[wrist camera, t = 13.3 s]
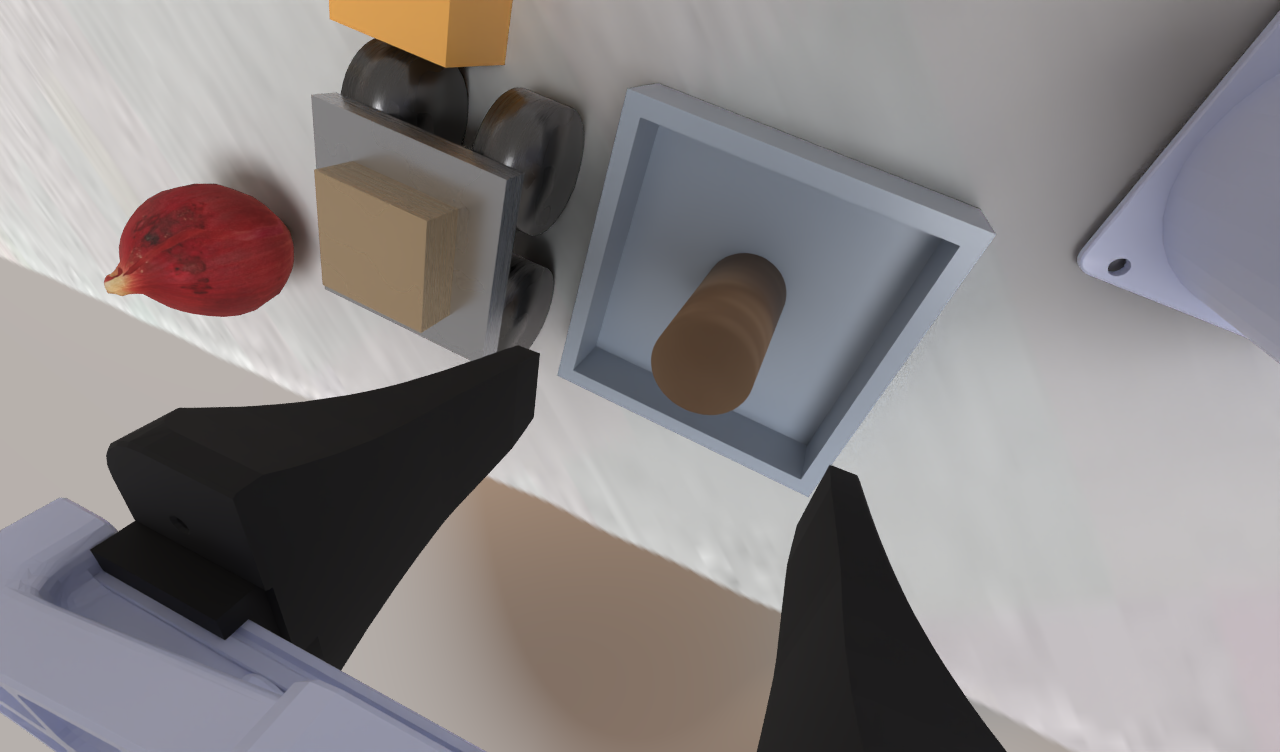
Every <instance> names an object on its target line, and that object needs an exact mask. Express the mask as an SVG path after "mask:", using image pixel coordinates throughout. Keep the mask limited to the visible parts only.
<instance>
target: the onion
mask: <svg viewBox="0 0 1280 752" xmlns="http://www.w3.org/2000/svg"><path fill="white" fill-rule="evenodd" d="M119 257H120V263H119V264H118V266H117V267H116V269H115V271H114V272H113V273H111V274H109V275H107V276H106V278H105V280H104V285H105V288H106V290H107V292H108V293H112V294H117V295H120V296H124V295H128V294H144V295H146V296H148V297H150V298H152V299H154V300H156V301H158V302H160V303H162V304H164V305H166V306H168V307H170V308H173V309H177V310H180V311H183V312H188V313H192V314H199V315H206V316H220V317H227V316H236V315H242V314H245V313H248V312H251V311H254V310H256V309H258V308H259V307H261V306H262V305H263V304H265V303H266V302H268V301H269V300H270V299H272V298H273V297H275V296H276V295H278V294H279V293H280V292H281V290H282V289H283V287H284V285H285V284H286V282H287V280H288V278H289V276H290V273H291V271H292V267H293V262H294V247H293V241H292V238H291V233H290V231H289V229H288V228H287V227H286V225H285V224H284V223H283V222H282V221H281V220H280V219H279V218H278V217H277V216H276V215H275V214H274V213H273V212H272V211H271V210H270V209H269V208H268V207H267V206H265V205H264V204H263V203H261V202H260V201H258V200H257V199H255V198H254V197H252V196H250V195H247V194H244V193H242V192H239V191H237V190H234V189H231V188H227V187H224V186H221V185H218V184H191V185H186V186H182V187H177V188H173V189H169V190H165V191H162V192H160V193H158V194H156V195H154V196H152V197H151V198H149V199H147V200H146V201H145V202H144V203H143V204H142V205H141V206H140V207H138V208H137V210H136V211H135V212H134V214H133V215H132V216H131V218H130V219H129V221H128V222H127V224H126V226H125V228H124V230H123V233H122V235H121V239H120V245H119Z"/></svg>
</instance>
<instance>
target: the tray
mask: <svg viewBox="0 0 1280 752" xmlns="http://www.w3.org/2000/svg"><path fill="white" fill-rule="evenodd" d="M995 236H996V233H995V232H994V230H993V229H992V227H991V225H990V224H989V222H988V220H987V219H986V217H985V216H984V214H983V212H982V211H981V209H979V208H976V207H974V206H971V205H968V204H966V203H963V202H961V201H958V200H956V199H953V198H951V197H948V196H946V195H943V194H940V193H938V192H935V191H933V190H930V189H928V188H925V187H923V186H920V185H917V184H915V183H912V182H910V181H907V180H905V179H902V178H900V177H897V176H894V175H892V174H889V173H887V172H884V171H882V170H879V169H877V168H874V167H871V166H869V165H866V164H864V163H861V162H859V161H856V160H854V159H851V158H848V157H846V156H843V155H841V154H838V153H836V152H833V151H831V150H828V149H825V148H823V147H820V146H818V145H815V144H813V143H810V142H808V141H805V140H802V139H800V138H797V137H795V136H792V135H790V134H787V133H785V132H782V131H779V130H777V129H774V128H772V127H769V126H767V125H764V124H762V123H759V122H756V121H754V120H751V119H749V118H746V117H744V116H741V115H739V114H736V113H733V112H731V111H728V110H726V109H723V108H721V107H718V106H716V105H713V104H710V103H708V102H705V101H703V100H700V99H698V98H695V97H693V96H690V95H687V94H685V93H682V92H680V91H677V90H675V89H672V88H670V87H667V86H664V85H662V84H659V83H656V84H650V85H644V86H639V87H633V88H627V92H626V96H625V100H624V105H623V109H622V113H621V117H620V121H619V125H618V129H617V133H616V137H615V141H614V146H613V150H612V154H611V158H610V162H609V166H608V170H607V174H606V178H605V182H604V187H603V191H602V195H601V199H600V203H599V207H598V211H597V215H596V219H595V223H594V228H593V232H592V236H591V240H590V244H589V248H588V252H587V256H586V260H585V264H584V268H583V273H582V277H581V281H580V285H579V289H578V293H577V297H576V301H575V305H574V309H573V314H572V318H571V322H570V326H569V330H568V334H567V338H566V342H565V346H564V350H563V355H562V359H561V363H560V367H559V371H558V375H557V376H560V377H562V378H564V379H566V380H568V381H570V382H572V383H574V384H576V385H578V386H580V387H582V388H584V389H586V390H588V391H590V392H593V393H595V394H597V395H599V396H601V397H603V398H605V399H607V400H609V401H611V402H613V403H615V404H617V405H619V406H621V407H624V408H626V409H628V410H630V411H632V412H634V413H636V414H638V415H640V416H642V417H644V418H646V419H648V420H650V421H652V422H654V423H657V424H659V425H661V426H663V427H665V428H667V429H669V430H671V431H673V432H675V433H677V434H679V435H681V436H683V437H685V438H687V439H690V440H692V441H694V442H696V443H698V444H700V445H702V446H704V447H706V448H708V449H710V450H712V451H714V452H716V453H718V454H721V455H723V456H725V457H727V458H729V459H731V460H733V461H735V462H737V463H739V464H741V465H743V466H745V467H747V468H749V469H751V470H754V471H756V472H758V473H760V474H762V475H764V476H766V477H768V478H770V479H772V480H774V481H776V482H778V483H780V484H782V485H785V486H787V487H789V488H791V489H793V490H795V491H797V492H799V493H801V494H803V495H805V496H807V497H809V496H810V494H811V493H812V491H813V490H814V489H815V487H816V486H817V484H818V483H819V482H820V480H821V479H822V477H823V476H824V474H825V472H826V470H827V468H828V466H829V465H832V463H833V462H834V461H835V459H836V458H837V456H838V455H839V454H840V452H841V451H842V449H843V448H844V447H845V445H846V444H847V443H848V441H849V440H850V438H851V437H852V436H853V434H854V433H855V431H856V430H857V429H858V427H859V426H860V424H861V423H862V422H863V420H864V419H865V417H866V416H867V415H868V413H869V412H870V410H871V409H872V408H873V406H874V405H875V403H876V402H877V401H878V399H879V398H880V396H881V395H882V394H883V392H884V391H885V389H886V388H887V387H888V385H889V384H890V382H891V381H892V380H893V378H894V377H895V375H896V374H897V373H898V371H899V370H900V368H901V367H902V366H903V364H904V363H905V361H906V360H907V359H908V357H909V356H910V354H911V353H912V352H913V350H914V349H915V347H916V346H917V345H918V343H919V342H920V340H921V339H922V338H923V336H924V335H925V333H926V332H927V331H928V329H929V328H930V326H931V325H932V324H933V322H934V321H935V319H936V318H937V317H938V315H939V314H940V312H941V311H942V310H943V308H944V307H945V305H946V304H947V303H948V301H949V300H950V299H951V297H952V296H953V294H954V293H955V292H956V290H957V289H958V287H959V286H960V285H961V283H962V282H963V280H964V279H965V278H966V276H967V275H968V273H969V272H970V271H971V269H972V268H973V266H974V265H975V264H976V262H977V261H978V259H979V258H980V257H981V255H982V254H983V252H984V251H985V250H986V248H987V247H988V245H989V244H990V243H991V241H992V240H993V238H994V237H995ZM738 253H750V254H755V255H758V256H761V257H763V258H765V259H767V260H768V261H770V262H771V263H772V264H773V265H774V266H775V267H776V268H777V269H778V270H779V272H780V273H781V275H782V277H783V279H784V282H785V285H786V301H785V305H784V308H783V310H782V313H781V315H780V318H779V321H778V323H777V326H776V328H775V331H774V334H773V336H772V339H771V341H770V344H769V347H768V349H767V352H766V354H765V357H764V359H763V362H762V365H761V367H760V370H759V372H758V375H757V378H756V380H755V383H754V385H753V388H752V390H751V393H750V394H749V396H748V397H747V399H746V400H745V401H744V402H743V403H742V404H741V405H740V406H739V407H737V408H735V409H734V410H732V411H729V412H727V413H723V414H718V415H702V414H697V413H693V412H690V411H687V410H685V409H683V408H681V407H679V406H678V405H676V404H675V403H673V402H672V401H671V400H670V399H669V398H667V397H666V395H665V394H664V393H663V392H662V391H661V389H660V388H659V386H658V385H657V383H656V381H655V378H654V376H653V373H652V368H651V355H652V350H653V347H654V345H655V343H656V341H657V340H658V338H659V337H660V335H661V334H662V333H663V332H664V330H665V329H666V328H667V326H668V325H669V324H670V322H671V321H672V320H673V319H674V317H675V316H676V315H677V313H678V312H679V311H680V310H681V308H682V307H683V306H684V304H685V303H686V302H687V300H688V299H689V298H690V297H691V295H692V294H693V293H694V291H695V290H696V289H697V288H698V286H699V285H700V284H701V282H702V281H703V280H704V278H705V277H706V276H707V275H708V273H709V272H710V271H711V269H712V268H713V267H714V266H715V265H716V264H717V263H718V262H719V261H720V260H722V259H724V258H725V257H728V256H730V255H733V254H738Z"/></svg>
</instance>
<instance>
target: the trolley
mask: <svg viewBox="0 0 1280 752" xmlns="http://www.w3.org/2000/svg"><path fill="white" fill-rule="evenodd" d="M311 98H312V112H313V126H314V140H315V154H316V168H317V169H315V170H314V173H315V186H316V200H317V214H318V227H319V241H320V254H321V268H322V281H323V285H324V286H325V289H326V290H328V291H330V292H332V293H334V294H336V295H338V296H341V297H343V298H345V299H347V300H349V301H351V302H353V303H355V304H357V305H359V306H361V307H363V308H365V309H367V310H369V311H371V312H373V313H375V314H377V315H379V316H381V317H383V318H385V319H387V320H389V321H391V322H393V323H395V324H397V325H399V326H401V327H403V328H406V329H408V330H410V331H412V332H414V333H416V334H418V335H420V336H422V337H424V338H426V339H428V340H430V341H432V342H434V343H436V344H438V345H440V346H442V347H444V348H446V349H448V350H450V351H452V352H454V353H456V354H458V355H460V356H462V357H464V358H466V359H468V360H471V361H473V360H476V359H479V358H482V357H484V356H487V355H490V354H493V353H496V352H498V351H501V350H504V349H507V348H510V347H514V346H517V345H519V346H521V347H524V348H527V349H529V348H530V347H531V345H532V344H533V342H534V341H535V339H536V337H537V336H538V334H539V332H540V330H541V328H542V326H543V324H544V321H545V319H546V316H547V314H548V311H549V308H550V304H551V300H552V296H553V288H554V281H553V275H552V273H551V271H550V270H549V269H547V268H545V267H543V266H541V265H538V264H536V263H534V262H532V261H530V260H527V259H525V258H523V257H521V256H519V255H516V254H514V253H512V251H513V244H514V238H515V231H516V229H518V230H520V231H522V232H524V233H526V234H529V235H533V236H535V235H539V234H541V233H543V232H545V231H546V230H547V229H548V228H549V227H550V226H551V225H552V224H553V223H554V222H555V221H556V219H557V218H558V217H559V215H560V214H561V212H562V211H563V209H564V207H565V205H566V203H567V202H568V200H569V197H570V195H571V193H572V190H573V188H574V185H575V182H576V179H577V176H578V173H579V169H580V165H581V160H582V154H583V144H584V133H583V125H582V121H581V118H580V116H579V114H578V112H577V111H576V110H575V109H573V108H571V107H568V106H566V105H564V104H561V103H559V102H556V101H554V100H551V99H549V98H546V97H544V96H541V95H539V94H537V93H534V92H532V91H529V90H527V89H524V88H513V89H511V90H509V91H507V92H505V93H504V94H503V95H501V96H500V97H499V98H498V99H497V100H496V102H495V103H494V104H493V105H492V107H491V108H490V110H489V111H488V113H487V114H486V116H485V118H484V120H483V122H482V124H481V126H480V129H479V131H478V134H477V137H476V140H475V143H474V147H473V151H471V150H469V149H467V148H464V147H462V146H460V145H461V143H462V140H463V137H464V133H465V129H466V124H467V116H468V99H467V91H466V86H465V83H464V79H463V77H462V75H461V72H460V71H459V69H458V67H448V68H445V67H443V66H440V65H438V64H435V63H433V62H431V61H428V60H426V59H424V58H421V57H419V56H416V55H414V54H412V53H409V52H407V51H405V50H402V49H400V48H397V47H395V46H393V45H390V44H388V43H386V42H383V41H381V40H378V39H376V38H375V39H373V40H371V41H369V42H368V43H366V44H365V45H364V46H363V47H362V48H361V49H360V50H359V51H358V52H357V54H356V55H355V56H354V58H353V60H352V61H351V63H350V65H349V67H348V69H347V72H346V74H345V78H344V81H343V85H342V90H341V94H339V93H326V94H315V95H311Z"/></svg>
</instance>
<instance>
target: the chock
mask: <svg viewBox="0 0 1280 752" xmlns="http://www.w3.org/2000/svg"><path fill="white" fill-rule="evenodd" d="M512 1H513V0H329V11H330V19H331V20H333V21H336V22H338V23H340V24H343V25H345V26H348V27H350V28H352V29H355V30H357V31H359V32H362V33H364V34H367V35H369V36H371V37H374V38H376V39H378V40H381V41H383V42H386V43H388V44H390V45H393V46H395V47H397V48H400V49H402V50H405V51H407V52H409V53H412V54H414V55H416V56H419V57H421V58H424V59H426V60H428V61H431V62H433V63H435V64H438V65H440V66H443V67H445V68H448V67H470V66H492V65H505V57H506V49H507V41H508V33H509V25H510V17H511V9H512Z"/></svg>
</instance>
